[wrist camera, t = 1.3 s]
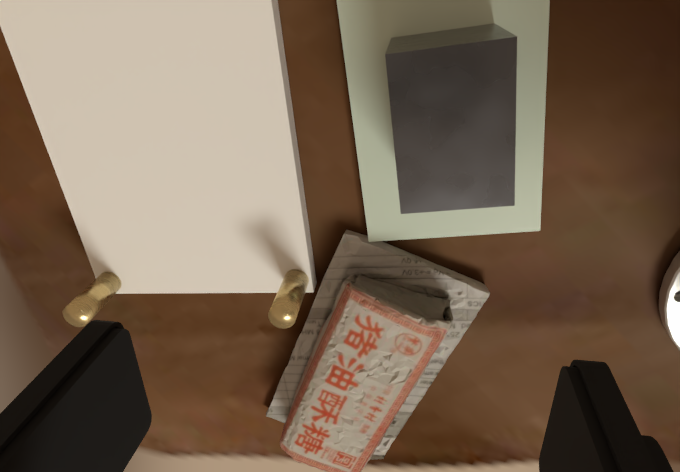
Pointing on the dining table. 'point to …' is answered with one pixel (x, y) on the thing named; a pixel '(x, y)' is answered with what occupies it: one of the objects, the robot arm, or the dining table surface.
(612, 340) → the dining table surface
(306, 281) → the chassis
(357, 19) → the board
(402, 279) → the packaged product
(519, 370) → the dining table surface
